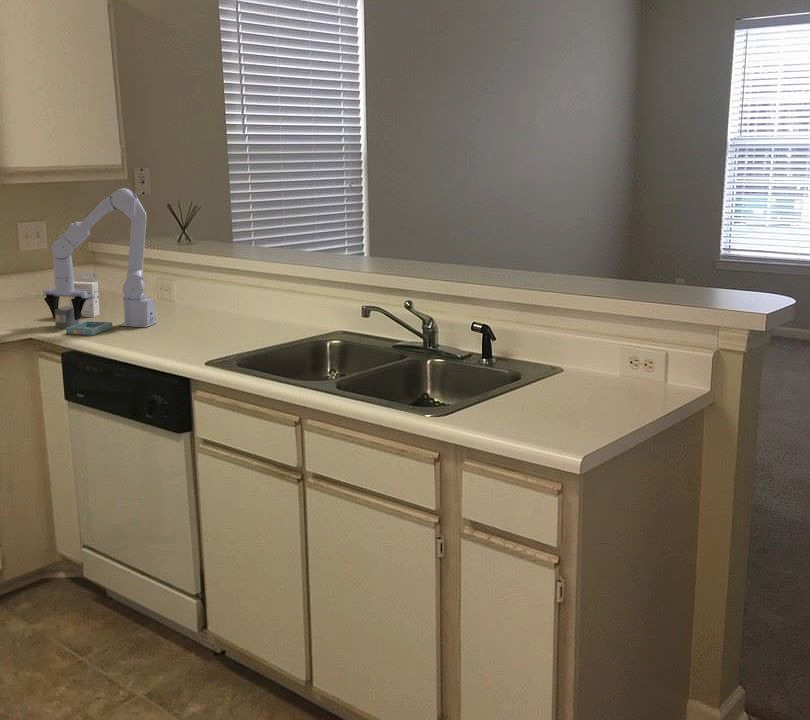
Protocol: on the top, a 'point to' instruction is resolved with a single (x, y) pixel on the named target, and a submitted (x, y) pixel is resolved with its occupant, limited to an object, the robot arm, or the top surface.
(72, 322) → the block
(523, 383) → the top surface
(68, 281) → the robot arm
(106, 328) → the service tray
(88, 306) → the ink cartridge box
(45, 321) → the top surface
